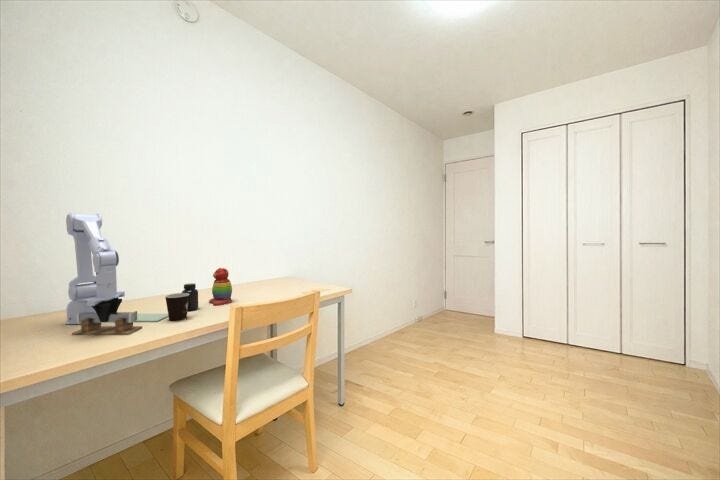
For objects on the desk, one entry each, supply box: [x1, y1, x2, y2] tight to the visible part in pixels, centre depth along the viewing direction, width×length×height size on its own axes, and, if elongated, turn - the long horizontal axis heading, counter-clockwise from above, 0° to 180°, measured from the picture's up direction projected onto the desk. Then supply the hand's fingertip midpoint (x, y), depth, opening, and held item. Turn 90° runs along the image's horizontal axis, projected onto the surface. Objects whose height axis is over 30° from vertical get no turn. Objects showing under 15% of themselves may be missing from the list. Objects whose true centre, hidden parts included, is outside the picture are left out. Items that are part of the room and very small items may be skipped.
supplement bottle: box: [181, 283, 199, 312], centre depth 142 cm, size 7×7×12 cm
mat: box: [133, 313, 169, 323], centre depth 128 cm, size 22×10×1 cm, turn 91°
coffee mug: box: [165, 292, 189, 322], centre depth 129 cm, size 12×9×10 cm
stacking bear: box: [208, 267, 233, 307], centre depth 155 cm, size 11×10×18 cm
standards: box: [71, 319, 143, 336], centre depth 112 cm, size 20×7×5 cm, turn 91°
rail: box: [77, 310, 138, 324], centre depth 112 cm, size 19×3×3 cm, turn 91°
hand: (107, 320), depth 112 cm, fingers open, 3 cm apart
